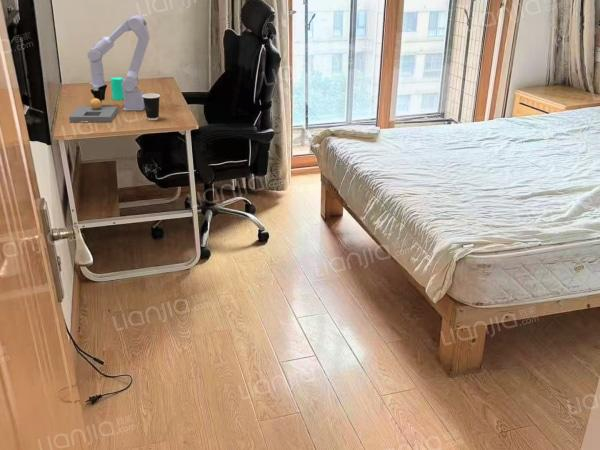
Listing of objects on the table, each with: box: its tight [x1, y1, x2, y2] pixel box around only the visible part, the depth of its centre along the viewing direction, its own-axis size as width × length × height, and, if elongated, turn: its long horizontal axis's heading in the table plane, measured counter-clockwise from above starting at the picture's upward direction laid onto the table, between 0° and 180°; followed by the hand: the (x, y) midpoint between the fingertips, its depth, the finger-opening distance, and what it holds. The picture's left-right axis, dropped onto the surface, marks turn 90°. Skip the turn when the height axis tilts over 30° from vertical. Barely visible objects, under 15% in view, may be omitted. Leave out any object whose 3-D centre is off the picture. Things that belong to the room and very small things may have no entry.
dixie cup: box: [142, 93, 161, 121], centre depth 280 cm, size 8×8×11 cm
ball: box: [89, 97, 102, 109], centre depth 284 cm, size 5×5×5 cm
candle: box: [110, 75, 124, 101], centre depth 311 cm, size 6×6×12 cm
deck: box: [69, 106, 119, 123], centre depth 281 cm, size 18×18×2 cm
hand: (100, 102), depth 295 cm, fingers open, 7 cm apart
